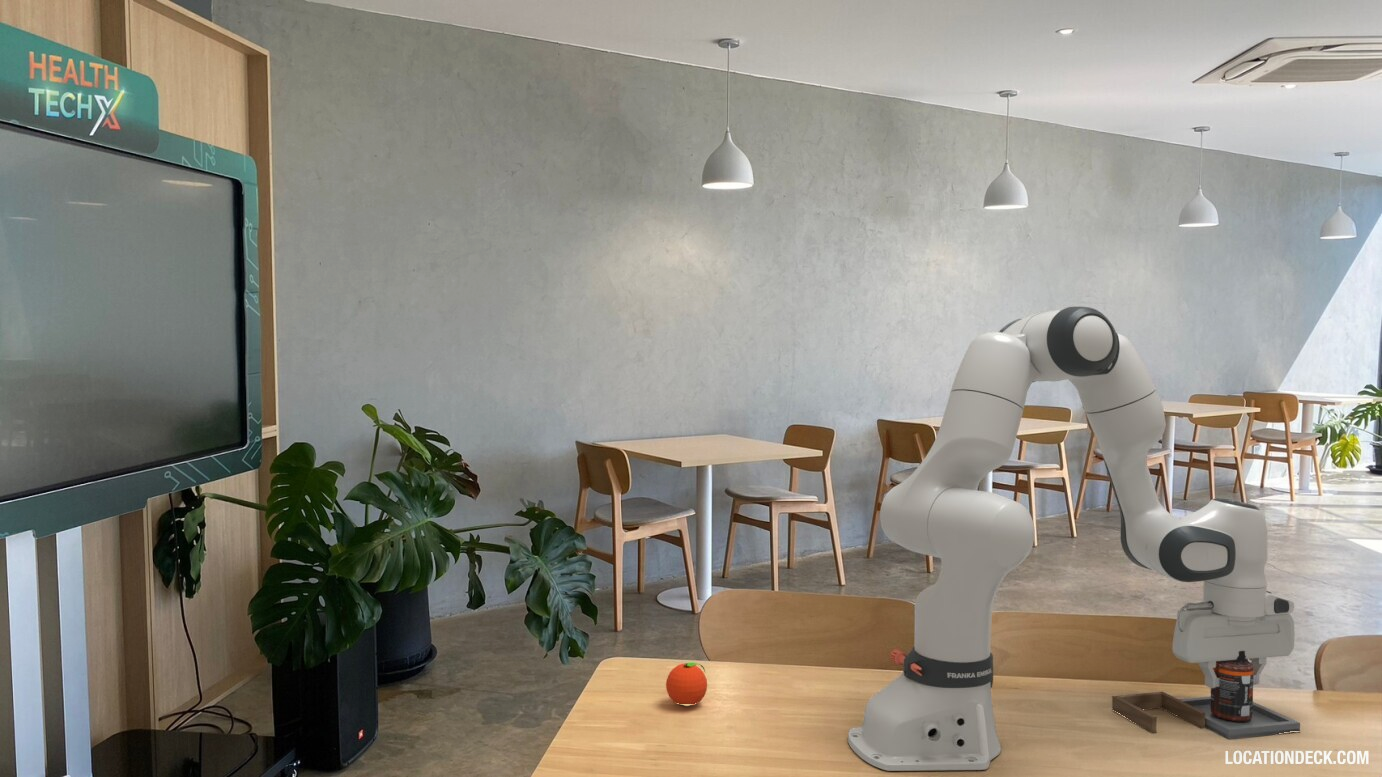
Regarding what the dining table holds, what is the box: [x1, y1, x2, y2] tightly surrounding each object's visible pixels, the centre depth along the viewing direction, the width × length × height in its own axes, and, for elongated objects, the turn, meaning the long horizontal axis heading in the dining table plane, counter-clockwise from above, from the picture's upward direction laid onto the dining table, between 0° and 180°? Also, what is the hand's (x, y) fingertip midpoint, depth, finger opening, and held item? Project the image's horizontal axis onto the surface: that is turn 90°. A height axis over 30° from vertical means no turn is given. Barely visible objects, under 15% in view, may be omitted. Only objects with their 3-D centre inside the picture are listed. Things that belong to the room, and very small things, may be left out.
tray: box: [1178, 695, 1301, 740], centre depth 154 cm, size 13×13×2 cm
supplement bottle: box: [1210, 651, 1254, 722], centre depth 154 cm, size 6×6×11 cm
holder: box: [1111, 691, 1206, 734], centre depth 155 cm, size 10×10×2 cm
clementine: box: [665, 662, 708, 705], centre depth 161 cm, size 8×7×7 cm
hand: (1232, 685), depth 154 cm, fingers closed on supplement bottle, 6 cm apart
